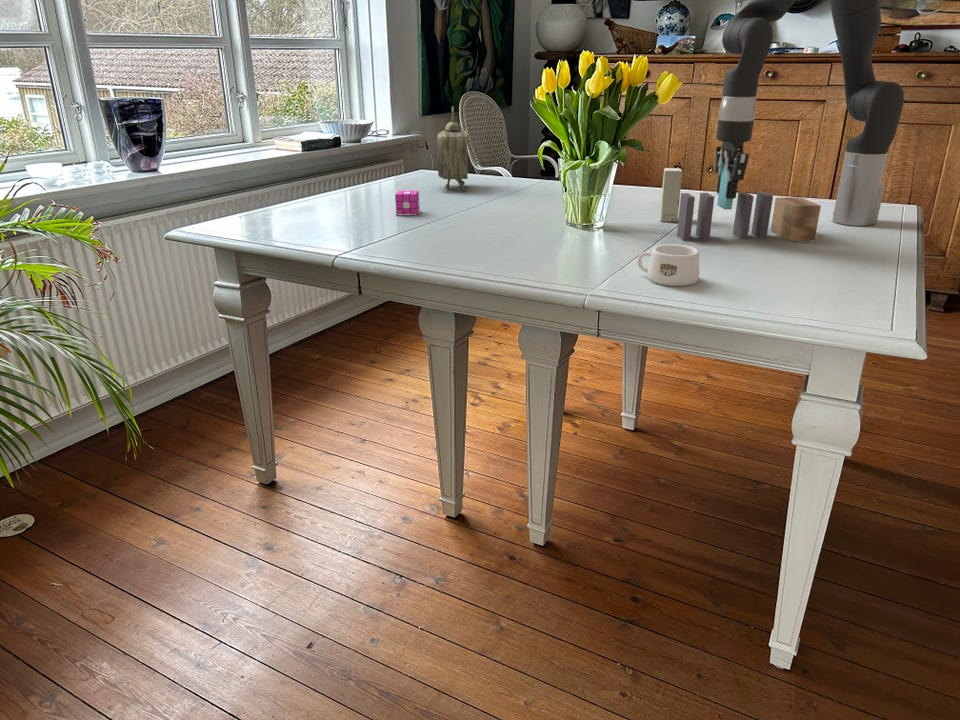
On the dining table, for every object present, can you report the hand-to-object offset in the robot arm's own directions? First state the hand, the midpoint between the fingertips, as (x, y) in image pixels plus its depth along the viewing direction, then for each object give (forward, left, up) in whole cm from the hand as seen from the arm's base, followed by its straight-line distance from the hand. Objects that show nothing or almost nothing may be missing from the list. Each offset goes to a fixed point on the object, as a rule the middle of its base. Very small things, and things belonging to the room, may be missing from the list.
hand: (726, 195), depth 164 cm
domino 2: (+4, 0, -10) cm, 11 cm away
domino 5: (-9, 0, -10) cm, 13 cm away
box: (+7, -19, -10) cm, 23 cm away
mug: (+22, +31, -10) cm, 39 cm away
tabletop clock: (+62, -69, -10) cm, 93 cm away
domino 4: (-5, 0, -10) cm, 11 cm away
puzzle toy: (+75, -34, -10) cm, 83 cm away
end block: (-17, 0, -10) cm, 20 cm away
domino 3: (0, 0, -3) cm, 3 cm away
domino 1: (+9, 0, -10) cm, 13 cm away
